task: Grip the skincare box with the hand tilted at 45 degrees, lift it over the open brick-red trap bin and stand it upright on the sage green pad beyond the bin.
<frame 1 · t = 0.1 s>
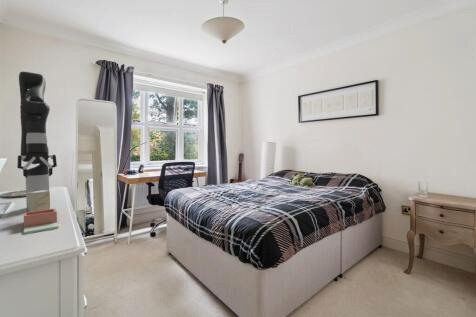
hand: (38, 176, 112), 17 cm above the table, tool pointing down, fingers open, 8 cm apart
skincare box: (40, 219, 103), on the table
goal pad: (41, 228, 90), on the table
trap bin: (40, 224, 95), on the table
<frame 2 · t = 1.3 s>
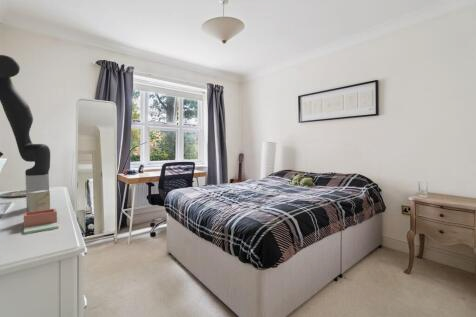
hand: (0, 156, 94), 28 cm above the table, tool tilted 45°, fingers open, 8 cm apart
nothing on the table moved.
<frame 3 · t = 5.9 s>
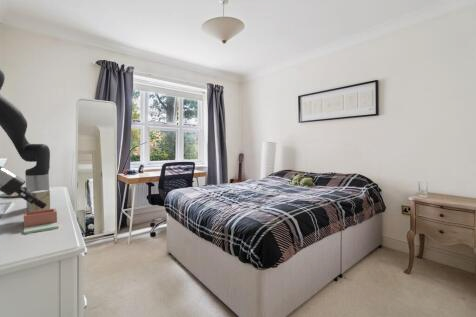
hand: (44, 205, 104), 6 cm above the table, tool tilted 45°, fingers closed on skincare box, 7 cm apart
skincare box: (40, 219, 103), on the table, touching gripper
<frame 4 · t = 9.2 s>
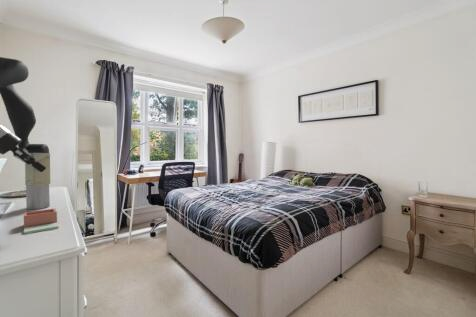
hand: (43, 169, 90), 23 cm above the table, tool tilted 45°, fingers closed on skincare box, 7 cm apart
skincare box: (38, 185, 89), point 17 cm above the table, touching gripper
when the fingers open (8 cm above the table, at t = 12.7 s): skincare box drops 1 cm, resting on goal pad.
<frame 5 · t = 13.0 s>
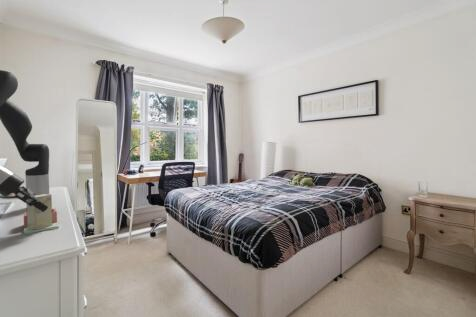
hand: (45, 207, 90), 8 cm above the table, tool tilted 45°, fingers open, 8 cm apart
skincare box: (40, 227, 90), point 1 cm above the table, touching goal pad
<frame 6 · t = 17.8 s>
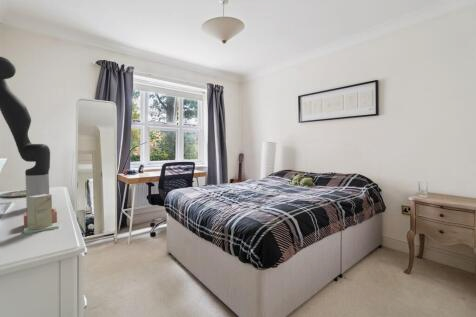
nothing on the table moved.
at the end: skincare box 0.4 cm off-centre on the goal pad, point 0.6 cm above the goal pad's base; skincare box tilted 0° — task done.
